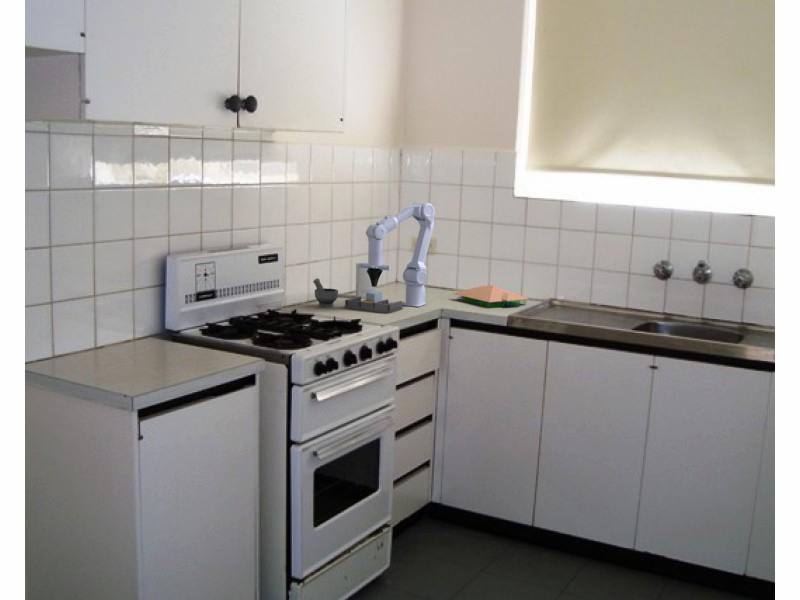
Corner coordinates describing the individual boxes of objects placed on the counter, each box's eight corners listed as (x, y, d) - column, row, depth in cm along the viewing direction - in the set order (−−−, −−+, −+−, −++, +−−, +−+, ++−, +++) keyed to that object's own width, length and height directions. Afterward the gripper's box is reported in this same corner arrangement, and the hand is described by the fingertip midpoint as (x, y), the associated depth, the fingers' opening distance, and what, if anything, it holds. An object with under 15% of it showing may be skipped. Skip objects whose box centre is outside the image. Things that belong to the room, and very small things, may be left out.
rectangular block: (373, 304, 355) (373, 290, 354) (381, 305, 354) (382, 291, 353) (365, 307, 349) (366, 292, 348) (374, 308, 347) (374, 293, 347)
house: (493, 310, 360) (494, 291, 359) (446, 299, 387) (447, 281, 385) (532, 307, 373) (534, 288, 371) (485, 296, 399) (485, 279, 398)
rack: (358, 304, 361) (358, 295, 361) (402, 309, 352) (402, 300, 352) (344, 308, 351) (344, 298, 350) (389, 313, 342) (389, 304, 341)
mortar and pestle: (329, 303, 361) (330, 275, 359) (342, 307, 353) (342, 278, 352) (307, 305, 354) (307, 277, 352) (319, 309, 347) (319, 280, 345)
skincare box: (372, 296, 386) (373, 262, 383) (376, 298, 379) (377, 264, 377) (354, 296, 383) (355, 262, 381) (358, 298, 377) (358, 264, 375)
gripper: (355, 253, 348) (354, 286, 350) (386, 256, 341) (385, 289, 343) (363, 252, 354) (362, 284, 356) (394, 254, 348) (393, 287, 350)
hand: (374, 286), depth 350 cm, fingers closed
